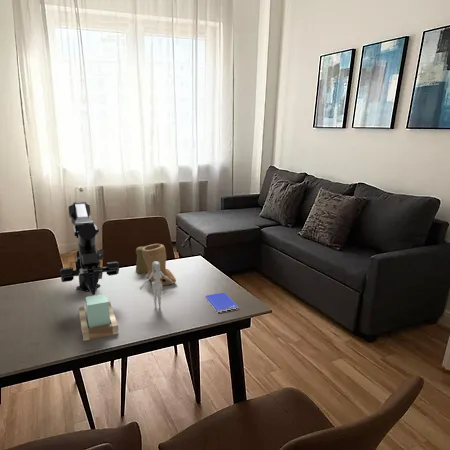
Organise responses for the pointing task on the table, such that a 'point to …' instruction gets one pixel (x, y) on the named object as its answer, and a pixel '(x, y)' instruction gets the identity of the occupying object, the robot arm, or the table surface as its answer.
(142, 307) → the table surface
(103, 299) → the sage block
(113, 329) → the chute
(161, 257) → the tan hollow piece
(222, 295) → the hard drive
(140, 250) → the cork
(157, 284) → the human figurine
